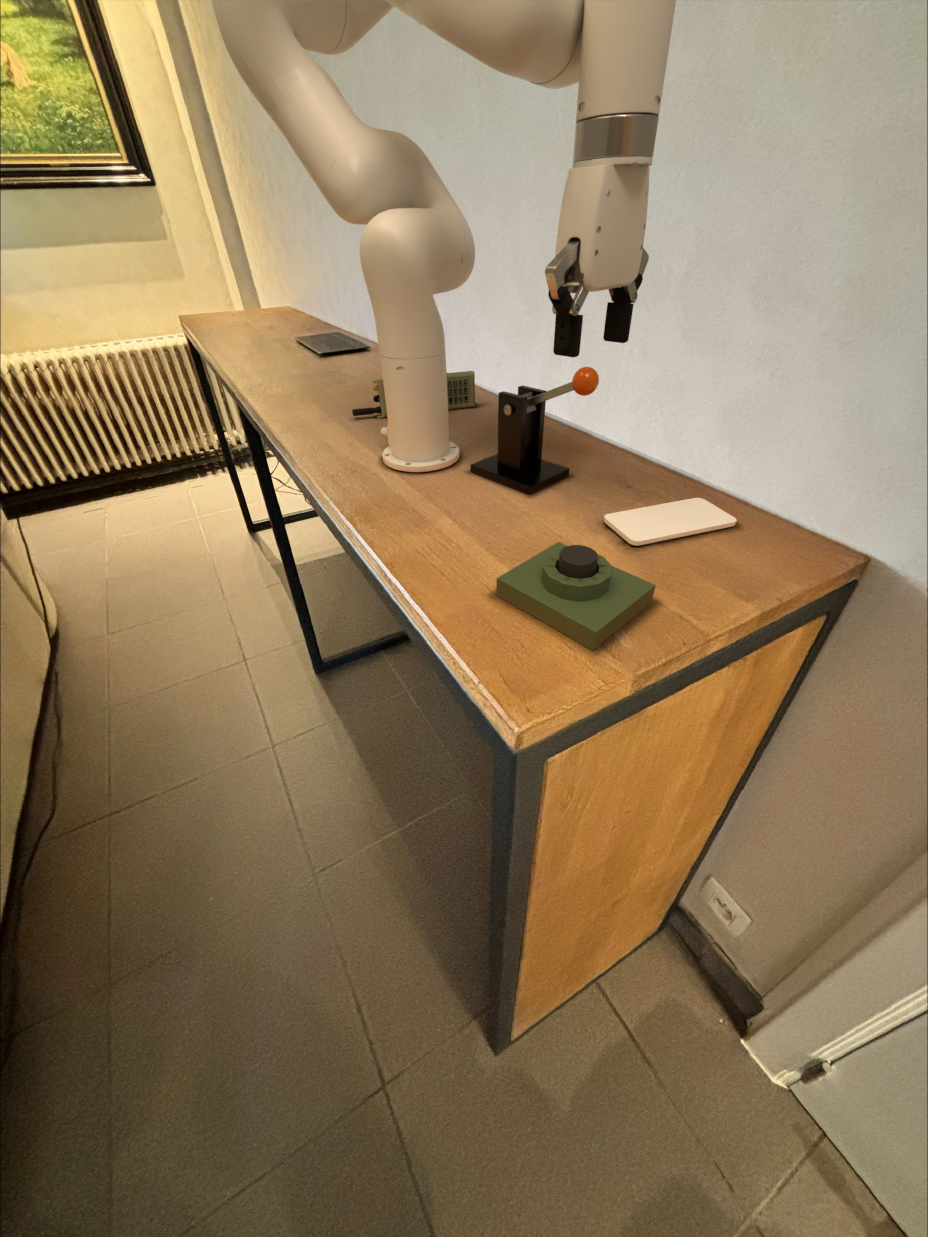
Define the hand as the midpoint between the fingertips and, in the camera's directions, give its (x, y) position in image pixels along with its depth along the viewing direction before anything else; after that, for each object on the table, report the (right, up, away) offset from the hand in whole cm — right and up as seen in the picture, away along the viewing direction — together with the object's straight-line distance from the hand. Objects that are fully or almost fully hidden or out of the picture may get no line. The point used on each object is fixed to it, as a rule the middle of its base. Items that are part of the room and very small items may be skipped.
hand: (591, 348), depth 58 cm
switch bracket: (-7, -10, +17) cm, 21 cm away
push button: (-4, -27, -10) cm, 29 cm away
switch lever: (-3, -4, +7) cm, 9 cm away
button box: (-4, -30, -7) cm, 31 cm away
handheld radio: (-25, +10, +43) cm, 51 cm away
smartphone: (+11, -20, +4) cm, 23 cm away
